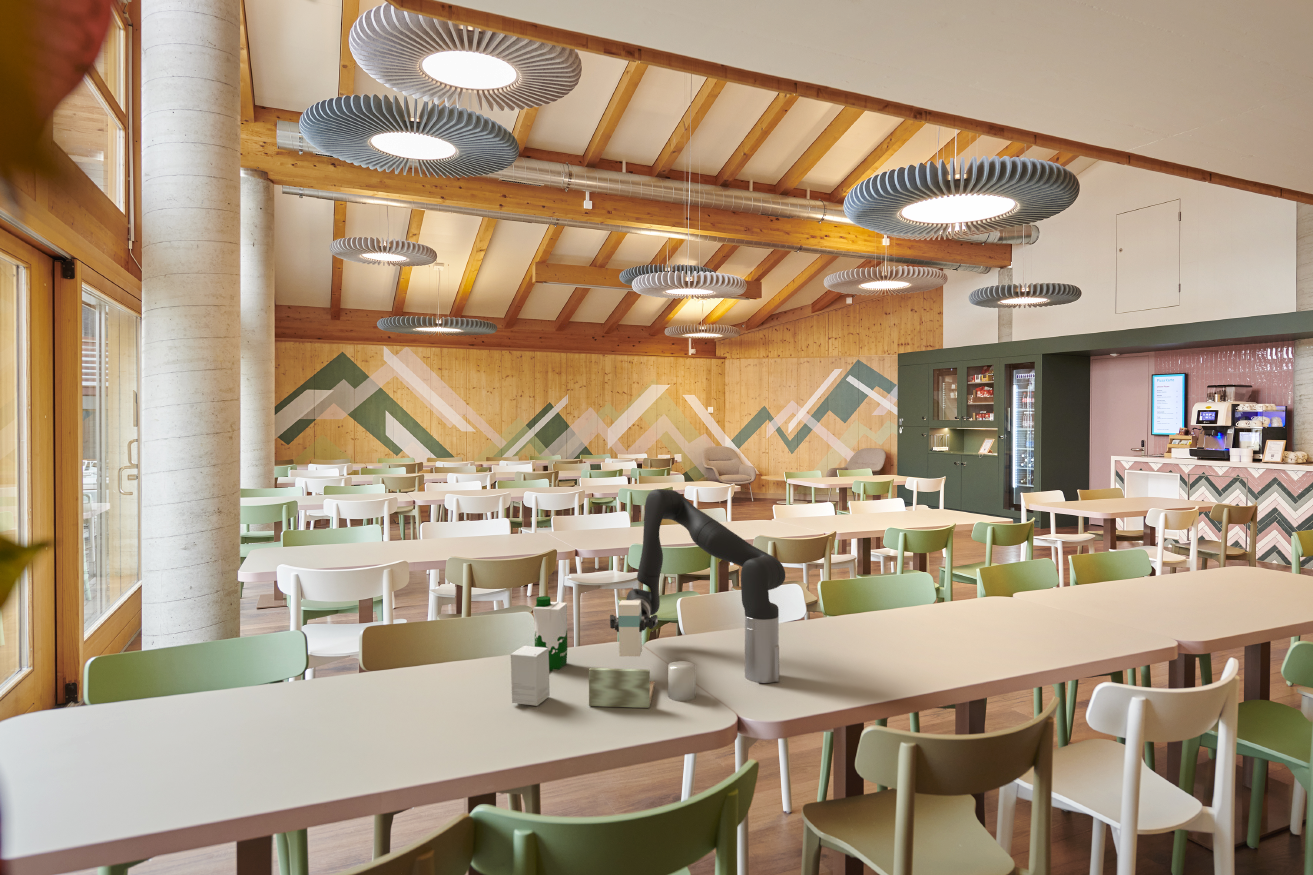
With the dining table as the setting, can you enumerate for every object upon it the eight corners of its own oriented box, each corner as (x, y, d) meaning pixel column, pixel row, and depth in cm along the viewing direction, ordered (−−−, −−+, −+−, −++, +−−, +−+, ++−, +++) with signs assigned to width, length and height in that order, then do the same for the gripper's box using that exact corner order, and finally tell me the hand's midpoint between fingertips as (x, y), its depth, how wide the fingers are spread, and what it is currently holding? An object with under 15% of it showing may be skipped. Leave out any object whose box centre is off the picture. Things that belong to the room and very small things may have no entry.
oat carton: (642, 650, 215) (641, 600, 214) (639, 656, 209) (638, 604, 209) (622, 650, 215) (621, 600, 215) (619, 656, 210) (618, 604, 209)
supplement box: (550, 695, 199) (549, 647, 198) (537, 706, 192) (536, 656, 191) (525, 692, 201) (524, 644, 201) (510, 703, 194) (509, 653, 194)
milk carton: (541, 660, 229) (540, 593, 228) (571, 662, 227) (570, 595, 226) (531, 670, 220) (530, 601, 219) (561, 672, 218) (560, 602, 217)
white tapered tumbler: (695, 691, 202) (696, 661, 202) (695, 701, 195) (695, 669, 195) (669, 691, 203) (669, 660, 203) (667, 700, 196) (667, 669, 196)
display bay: (654, 688, 205) (654, 654, 205) (649, 707, 191) (649, 671, 191) (598, 686, 206) (598, 653, 206) (589, 705, 192) (588, 669, 192)
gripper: (612, 600, 227) (602, 614, 210) (660, 601, 226) (655, 614, 209) (612, 626, 227) (603, 641, 210) (661, 626, 226) (655, 642, 209)
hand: (629, 628), depth 210 cm, fingers closed on oat carton, 5 cm apart
